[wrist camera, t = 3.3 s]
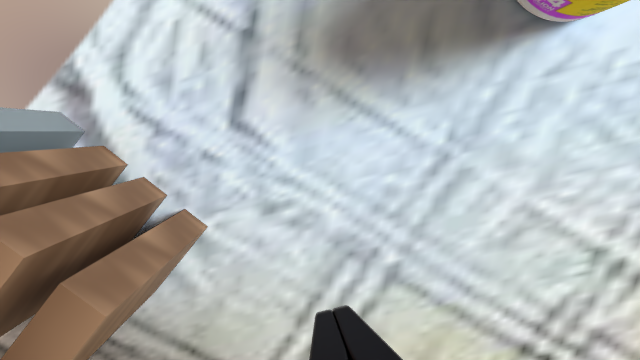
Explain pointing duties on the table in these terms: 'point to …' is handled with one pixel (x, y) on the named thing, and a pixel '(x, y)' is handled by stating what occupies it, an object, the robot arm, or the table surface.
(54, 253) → the domino
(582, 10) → the supplement bottle
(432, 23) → the table surface
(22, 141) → the domino
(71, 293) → the domino
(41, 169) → the domino
